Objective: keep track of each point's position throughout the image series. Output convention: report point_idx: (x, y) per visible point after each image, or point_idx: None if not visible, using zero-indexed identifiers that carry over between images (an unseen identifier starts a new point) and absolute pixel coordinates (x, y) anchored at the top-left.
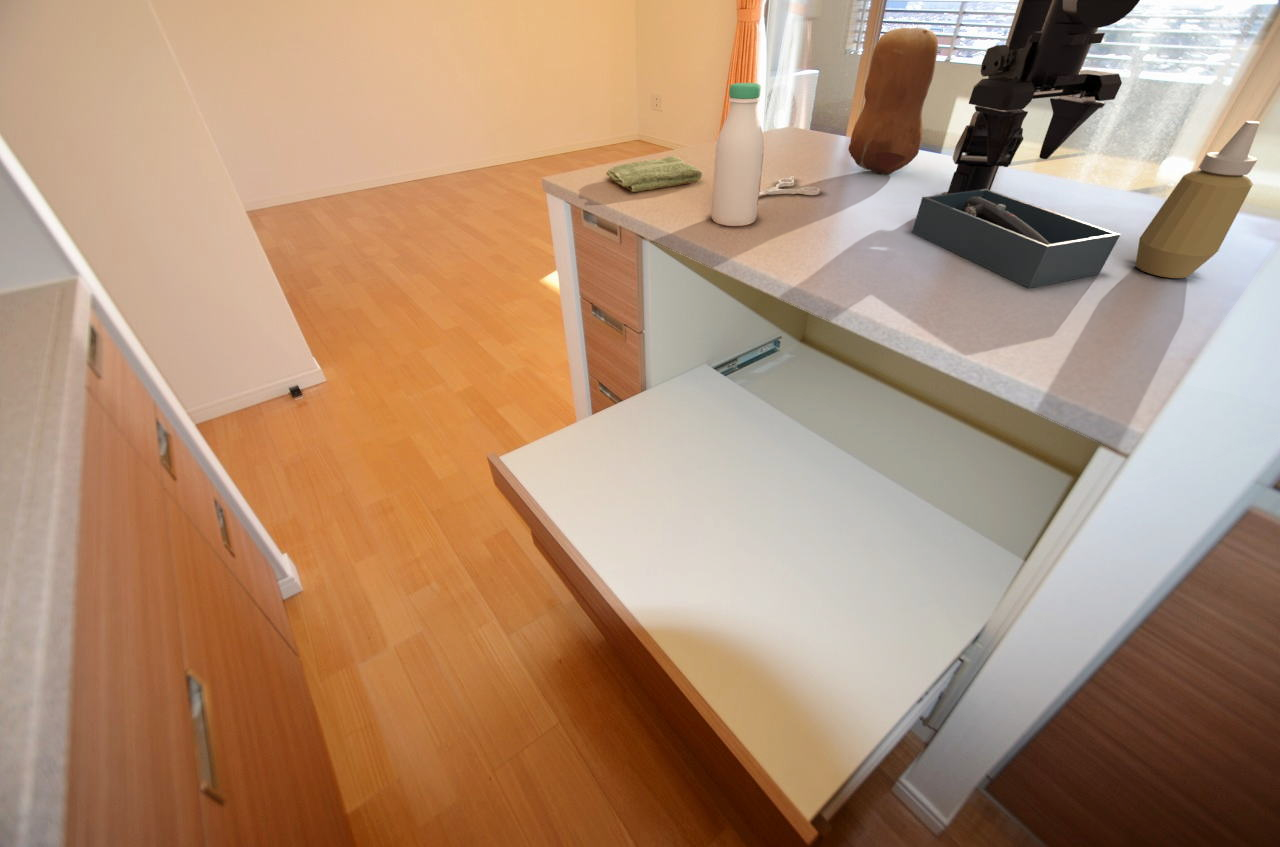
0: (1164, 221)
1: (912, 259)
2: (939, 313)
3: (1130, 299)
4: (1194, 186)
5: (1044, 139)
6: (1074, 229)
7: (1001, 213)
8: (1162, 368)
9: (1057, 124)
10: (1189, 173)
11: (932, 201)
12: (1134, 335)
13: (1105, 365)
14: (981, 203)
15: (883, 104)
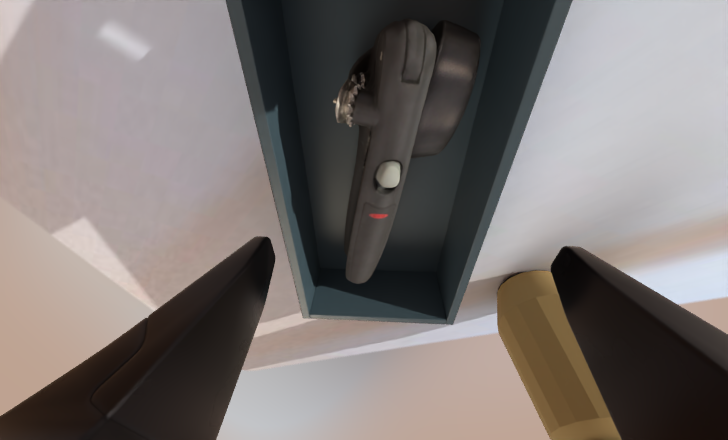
0: (521, 350)
1: (191, 134)
2: (169, 273)
3: None
4: (551, 420)
5: (630, 302)
6: (457, 268)
7: (366, 195)
8: (309, 358)
9: (694, 423)
10: (600, 427)
11: (228, 11)
12: (333, 338)
13: (272, 348)
14: (380, 114)
15: None
